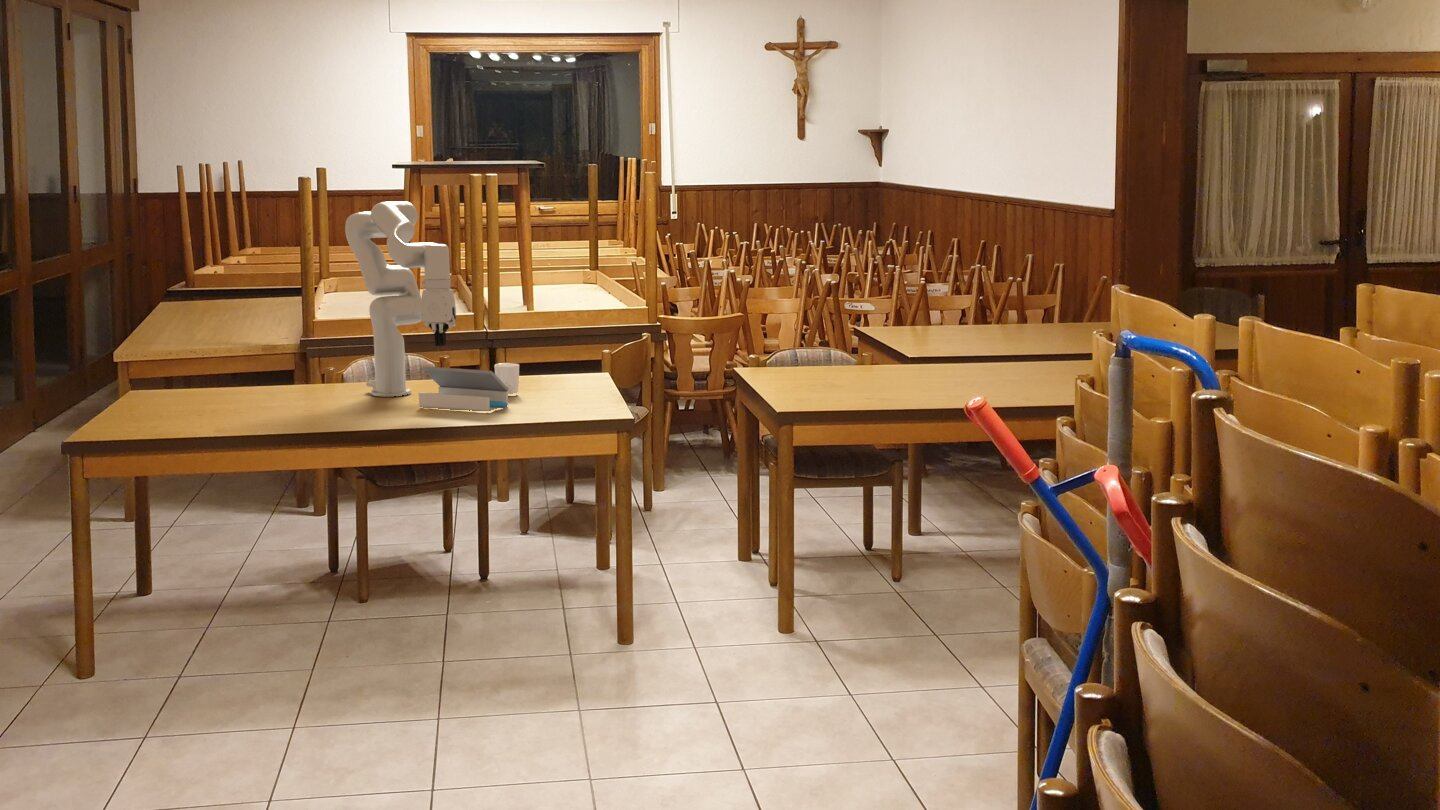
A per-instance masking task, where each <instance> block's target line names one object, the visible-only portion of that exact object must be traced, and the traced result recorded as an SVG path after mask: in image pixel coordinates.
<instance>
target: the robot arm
mask: <svg viewBox="0 0 1440 810" xmlns="http://www.w3.org/2000/svg"><path fill="white" fill-rule="evenodd" d="M418 218H419V216H418V212H417V208H416V207H415V205H414V204H412V203H411V202H410V201H406V200H405V201H382V202H381V201H380V202H378V203H376V204H375V205H374V206H372V208H371V210H370V211H358V212H356V213H352V214H350V215H349V216H348V217H347V219H346V221H345V225H344V226H345V228H344V229H345V237H346V240H347V243H348V245H349V248H350V249H351V251H352V252H353V254H354V256H355V258H356V260H357V263H358V266H359V269H360V272H361V275H362V279H363V281H364V284H365V287H366V290H367V292H368V293H369V294H370V295H372V296H376V297H377V296H379V297H377V298H375V299H373V300H372V301H371V302H370V305H369V310H368V311H369V316H370V317H369V318H370V320H371V321H370V322H371V325H372V326H371V327H372V333H373V335H372V336H373V349H374V350H373V351H374V371H375V372H374V374H375V375H374V377H375V379H371V380H370V379H369V380H367V381H366V383H365V385H366V387H370V388H371V387H372V390H370V395H371V396H373V397H381V398H382V397H383V398H390V397H391V398H392V397H394V396H396V397H403V396H402V395H404V396H407V394H408V395H410V394H411V393H412V390H411V388H407V381H406V354H405V353H406V352H405V350H406V349H405V339H404V336H403V334H402V333H401V331H400V330H399V329H398V327H399V326H406V325H415V324H418V323H421V322H422V323H423V326H424V327H429V328H430V329H431V331H432V333H433V334H434V344H435V346H437V347H443V346H446V342H447V338H446V337H447V335H446V334H447V332H448V330H449V328H453V327H455V326H456V325H457V323H456V320H457V308H456V307H457V306H456V300H455V296H454V291H453V289H451V269H450V268H451V267H450V249H449V246H448V245H447V244H445V243H437V242H410V241H411V240H412V239H413V237H414V235H415V226H416V224H417V221H418ZM376 238H377V239H381V238H387V239H386V248H387V249H386V250H387V252H388V256H389V257H390V258H391V260H392V261H394V263H396V265H395V264H393V265H391V264H388V263H387V261H386V258H385V254H384V252H383V251H382V249H381V248H380V247H379V246H378V245H377V244H376V242H373V241H372V240H371V239H376ZM409 242H410V243H409ZM418 268H420V269H421V268H424V280H423V281H422V282H421V285H422V286H424V288H425V289H422V294H421V292H420V290H419V286H418V284H417V281H416V280H417V279H416V278H415V275H414V272H413V271H412V270H411V269H418ZM394 398H395V397H394Z"/></svg>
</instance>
